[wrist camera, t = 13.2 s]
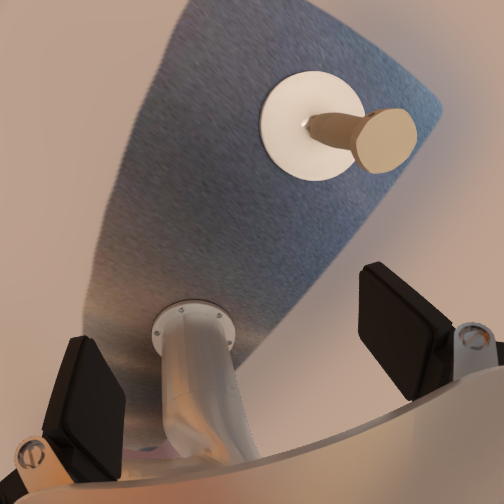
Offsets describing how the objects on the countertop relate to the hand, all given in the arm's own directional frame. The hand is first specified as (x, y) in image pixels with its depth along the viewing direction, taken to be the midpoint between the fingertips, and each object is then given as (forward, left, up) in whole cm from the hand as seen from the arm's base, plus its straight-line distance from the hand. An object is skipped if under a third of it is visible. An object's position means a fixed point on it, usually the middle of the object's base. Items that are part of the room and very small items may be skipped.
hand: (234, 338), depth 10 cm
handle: (+2, -16, -29) cm, 33 cm away
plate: (+2, -16, -31) cm, 34 cm away
